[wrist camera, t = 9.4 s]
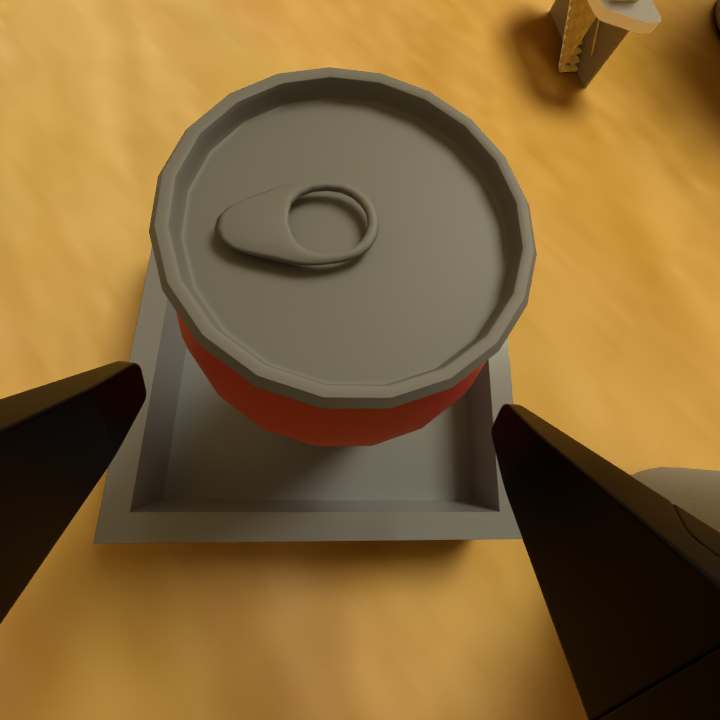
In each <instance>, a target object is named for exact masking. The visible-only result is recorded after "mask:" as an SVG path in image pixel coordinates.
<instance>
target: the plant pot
mask: <svg viewBox="0 0 720 720" xmlns="http://www.w3.org/2000/svg"><path fill="white" fill-rule="evenodd" d="M716 20H717V24H718V28H719V30H720V0H718V3H717V6H716Z"/></svg>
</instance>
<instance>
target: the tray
mask: <svg viewBox="0 0 720 720" xmlns="http://www.w3.org/2000/svg"><path fill="white" fill-rule="evenodd" d="M129 362H132V363H137V364H138V365H139V366H140V367H141V370H142V374H143V378H144V383H145V387H146V399H145V402H144V404H143V406H142V408H141V410H140V411H139V413H138V415H137V417H136V419H135V421H134V423H133V425H132V426H131V428H130V430H129V432H128V434H127V436H126V438H125V439H124V441H123V443H122V445H121V447H120V449H119V450H118V452H117V454H116V455H115V457H114V459H113V460H112V462H111V463H110V465H109V468H108V473H107V478H106V483H105V488H104V493H103V498H102V503H101V508H100V513H99V518H98V523H97V528H96V534H95V539H94V543H188V542H283V541H378V540H472V539H522V536H521V533H520V530H519V528H518V525H517V522H516V519H515V517H514V514H513V511H512V508H511V506H510V503H509V500H508V497H507V494H506V491H505V488H504V485H503V481H502V477H501V473H500V469H499V465H498V461H497V457H496V453H495V449H494V445H493V441H492V437H491V429H492V426H493V424H494V421H495V419H496V417H497V415H498V413H499V411H500V409H501V407H502V406H503V405H504V404H513V395H512V384H511V372H510V361H509V350H508V339H506V340H505V342H504V344H503V345H502V347H501V349H500V350H499V351H498V352H497V353H496V354H495V355H493V356H492V357H491V358H490V359H488V360H487V361H486V363H485V364H484V366H483V368H482V369H481V371H480V372H479V374H478V376H477V377H476V379H475V381H474V382H473V384H472V386H471V387H470V388H469V389H468V390H467V391H466V392H465V393H464V394H463V396H462V397H461V398H459V399H458V400H457V401H456V402H454V403H453V404H452V405H451V406H449V407H448V408H447V409H446V410H444V411H443V412H442V413H441V414H439V415H438V416H437V417H436V418H434V419H433V420H432V421H431V422H429V423H428V424H427V425H426V426H424V427H423V428H422V429H419V430H416V431H413V432H410V433H407V434H405V435H402V436H399V437H396V438H393V439H390V440H388V441H385V442H382V443H379V444H376V445H373V446H319V447H317V446H314V445H311V444H308V443H304V442H301V441H298V440H295V439H292V438H289V437H286V436H283V435H280V434H277V433H274V432H271V431H267V430H264V429H262V428H261V427H260V426H258V425H257V424H256V423H254V422H253V421H252V420H250V419H249V418H248V417H246V416H245V415H244V414H242V413H241V412H240V411H238V410H237V409H236V408H234V407H233V406H232V405H230V404H229V403H228V402H226V401H225V400H224V399H222V398H221V397H220V396H219V395H218V394H217V392H216V391H215V389H214V388H213V386H212V385H211V383H210V382H209V380H208V379H207V377H206V376H205V374H204V373H203V371H202V370H201V368H200V367H199V365H198V364H197V362H196V361H195V359H194V358H193V356H192V355H191V353H190V352H189V350H188V348H187V346H186V344H185V342H184V340H183V338H182V335H181V331H180V327H179V322H178V318H177V314H176V310H175V308H174V307H173V306H172V304H171V303H170V301H169V300H168V298H167V297H166V295H165V294H164V292H163V291H162V287H161V283H160V278H159V274H158V269H157V265H156V260H155V256H154V251H153V247H152V249H151V254H150V259H149V264H148V269H147V275H146V280H145V285H144V290H143V295H142V300H141V305H140V310H139V315H138V320H137V325H136V330H135V335H134V341H133V346H132V351H131V356H130V361H129Z"/></svg>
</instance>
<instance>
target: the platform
mask: <svg viewBox="0 0 720 720" xmlns="http://www.w3.org/2000/svg"><path fill="white" fill-rule="evenodd" d="M550 13H551V16H552V18H553V20H554V22H555V24H556V27H557V29H558V31H559V33H560V36H561V38H562V40H563V43H562V49H561V55H560V61H559V69H558V70H559V72H561V73H562V72H575V71H577V73H578V75H579V78H580V80H581V82H582V84H583V87H584V88H586V87H587V86H588V84H589V83H590V82H591V80H592V79H593V78H594V76H595V75H596V74H597V73H598V71H599V70H600V69H601V67H602V66H603V65H604V63H605V62H606V61H607V59H608V58H609V57H610V55H611V54H612V53H613V51H614V50H615V49H616V47H617V46H618V45H619V43H620V42H621V41H622V40H623V38H624V37H625V36H626V34H627V33H628V32H629V31H632V32H634V33H651V32H652V31H653V30H654V29H655V28H656V27H657V25H658V24H659V23H660V22H661V20H662V18H661V16H660V14H659V12H658V10H657V8H656V6H655V5H654V3H653V1H652V0H556V1H555V2H554V4H553V6H552V8H551V10H550ZM566 63H571V64H570V65H565V64H566Z"/></svg>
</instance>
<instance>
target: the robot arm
mask: <svg viewBox="0 0 720 720" xmlns="http://www.w3.org/2000/svg"><path fill="white" fill-rule="evenodd" d="M145 399H146V387H145V383H144V378H143V374H142V370H141V367H140V366H139V365H138V364H137V363H132V362H123V361H118V362H114V363H111V364H108V365H105V366H102V367H99V368H96V369H92V370H89V371H86V372H83V373H80V374H77V375H74V376H71V377H68V378H65V379H62V380H59V381H56V382H52V383H49V384H46V385H43V386H40V387H37V388H34V389H31V390H28V391H25V392H22V393H19V394H15V395H12V396H9V397H6V398H3V399H0V624H1V622H2V621H3V619H4V618H5V616H6V615H7V614H8V612H9V611H10V609H11V608H12V606H13V605H14V603H15V602H16V600H17V599H18V597H19V596H20V595H21V593H22V592H23V590H24V589H25V587H26V586H27V584H28V583H29V581H30V580H31V579H32V577H33V576H34V574H35V573H36V571H37V570H38V568H39V567H40V565H41V564H42V563H43V561H44V560H45V558H46V557H47V555H48V554H49V552H50V551H51V549H52V548H53V546H54V545H55V544H56V542H57V541H58V539H59V538H60V536H61V535H62V533H63V532H64V530H65V529H66V528H67V526H68V525H69V523H70V522H71V520H72V519H73V517H74V516H75V514H76V513H77V512H78V510H79V509H80V507H81V506H82V504H83V503H84V501H85V500H86V498H87V497H88V495H89V494H90V493H91V491H92V490H93V488H94V487H95V485H96V484H97V482H98V481H99V479H100V478H101V477H102V475H103V474H104V472H105V471H106V469H107V468H108V466H109V465H110V463H111V462H112V460H113V459H114V457H115V455H116V454H117V452H118V450H119V449H120V447H121V445H122V443H123V441H124V439H125V438H126V436H127V434H128V432H129V430H130V428H131V426H132V425H133V423H134V421H135V419H136V417H137V415H138V413H139V411H140V410H141V408H142V406H143V404H144V402H145ZM491 437H492V441H493V445H494V449H495V453H496V457H497V461H498V465H499V469H500V473H501V477H502V481H503V485H504V488H505V491H506V494H507V497H508V500H509V503H510V506H511V508H512V511H513V514H514V517H515V519H516V522H517V525H518V528H519V530H520V533H521V536H522V539H523V541H524V544H525V547H526V550H527V552H528V555H529V558H530V561H531V563H532V566H533V569H534V572H535V574H536V577H537V580H538V583H539V585H540V588H541V591H542V594H543V596H544V599H545V602H546V605H547V607H548V610H549V613H550V616H551V618H552V621H553V624H554V627H555V629H556V632H557V635H558V638H559V640H560V643H561V646H562V649H563V651H564V654H565V657H566V660H567V663H568V665H569V668H570V671H571V674H572V676H573V679H574V682H575V685H576V687H577V690H578V693H579V696H580V698H581V701H582V704H583V707H584V709H585V712H586V715H587V718H588V720H720V532H718V531H717V530H715V529H714V528H712V527H711V526H709V525H707V524H706V523H704V522H703V521H701V520H699V519H698V518H696V517H695V516H693V515H691V514H690V513H688V512H687V511H685V510H684V509H682V508H681V507H679V506H677V505H676V504H672V503H671V501H669V500H668V499H666V498H665V497H663V496H662V495H660V494H659V493H657V492H655V491H654V490H652V489H651V488H649V487H648V486H646V485H645V484H643V483H641V482H640V481H638V480H637V479H635V478H634V477H632V476H630V475H629V474H627V473H626V472H624V471H623V470H621V469H620V468H618V467H616V466H615V465H613V464H612V463H610V462H609V461H607V460H605V459H604V458H602V457H601V456H599V455H598V454H596V453H595V452H593V451H591V450H590V449H588V448H587V447H585V446H584V445H582V444H581V443H579V442H577V441H576V440H574V439H573V438H571V437H570V436H568V435H566V434H565V433H563V432H562V431H560V430H559V429H557V428H556V427H554V426H552V425H551V424H549V423H548V422H546V421H545V420H543V419H541V418H540V417H538V416H537V415H535V414H534V413H532V412H531V411H529V410H527V409H526V408H524V407H523V406H521V405H516V404H504V405H503V406H502V407H501V409H500V411H499V413H498V415H497V417H496V419H495V421H494V424H493V426H492V429H491Z"/></svg>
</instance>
